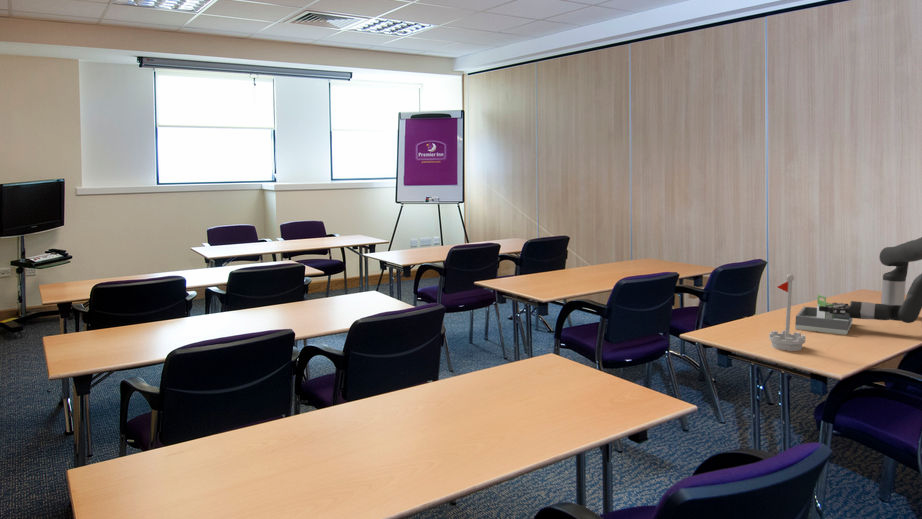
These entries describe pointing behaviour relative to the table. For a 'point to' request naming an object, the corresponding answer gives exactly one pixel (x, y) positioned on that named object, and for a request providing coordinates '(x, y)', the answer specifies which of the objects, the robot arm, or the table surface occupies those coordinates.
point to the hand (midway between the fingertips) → (820, 306)
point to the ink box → (823, 303)
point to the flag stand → (787, 325)
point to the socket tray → (822, 322)
